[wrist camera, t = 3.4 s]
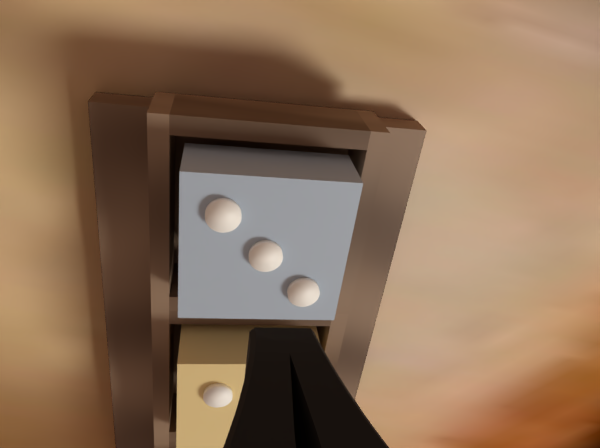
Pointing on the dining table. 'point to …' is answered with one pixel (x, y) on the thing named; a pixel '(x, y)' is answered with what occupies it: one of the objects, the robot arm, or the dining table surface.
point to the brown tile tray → (165, 231)
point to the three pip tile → (263, 232)
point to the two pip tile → (211, 381)
